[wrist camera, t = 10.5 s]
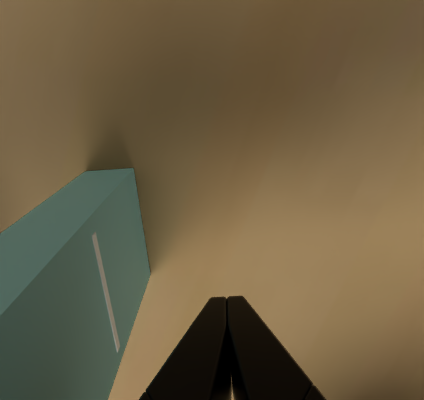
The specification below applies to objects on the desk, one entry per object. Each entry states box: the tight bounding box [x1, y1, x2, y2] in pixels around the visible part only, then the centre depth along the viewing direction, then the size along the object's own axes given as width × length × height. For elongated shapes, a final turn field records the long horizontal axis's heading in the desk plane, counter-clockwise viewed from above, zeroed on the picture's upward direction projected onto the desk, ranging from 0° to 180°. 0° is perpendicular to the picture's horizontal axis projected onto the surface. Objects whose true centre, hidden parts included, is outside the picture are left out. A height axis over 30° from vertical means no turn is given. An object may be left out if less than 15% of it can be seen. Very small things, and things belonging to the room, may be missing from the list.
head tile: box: [0, 168, 151, 400], centre depth 10 cm, size 2×5×10 cm, turn 4°
